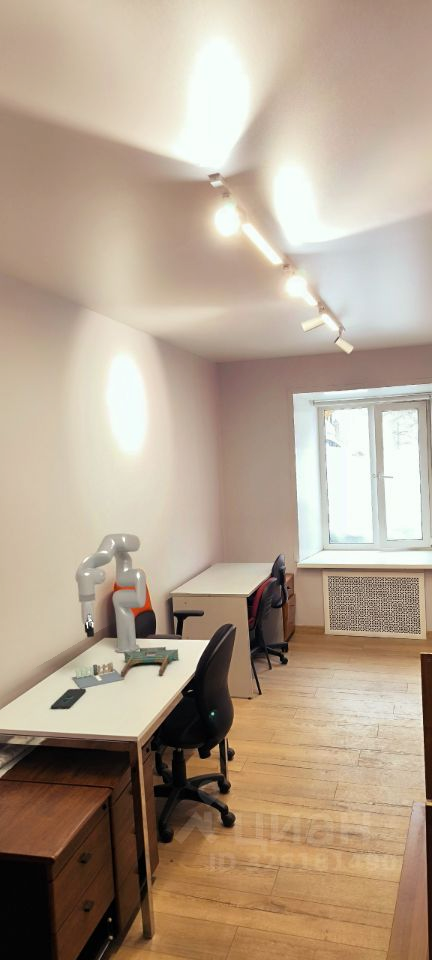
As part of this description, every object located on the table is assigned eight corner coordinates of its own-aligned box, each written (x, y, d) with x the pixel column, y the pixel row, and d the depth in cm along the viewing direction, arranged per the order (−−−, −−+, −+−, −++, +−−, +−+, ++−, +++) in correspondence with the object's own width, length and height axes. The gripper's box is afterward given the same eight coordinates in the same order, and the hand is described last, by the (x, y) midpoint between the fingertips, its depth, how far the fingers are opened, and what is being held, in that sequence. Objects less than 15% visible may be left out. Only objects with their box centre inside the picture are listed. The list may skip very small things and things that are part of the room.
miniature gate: (111, 668, 286) (127, 646, 316) (113, 680, 286) (128, 657, 316) (170, 666, 283) (180, 644, 313) (171, 678, 284) (181, 655, 314)
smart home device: (49, 706, 253) (68, 688, 273) (50, 710, 253) (68, 692, 273) (69, 705, 252) (86, 688, 272) (69, 710, 252) (86, 692, 272)
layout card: (72, 678, 291) (72, 677, 291) (114, 669, 299) (114, 668, 299) (80, 688, 275) (80, 687, 275) (124, 679, 283) (124, 678, 283)
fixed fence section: (94, 675, 290) (93, 666, 290) (93, 674, 292) (92, 665, 292) (113, 671, 294) (113, 662, 294) (112, 670, 295) (112, 661, 295)
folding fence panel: (92, 674, 291) (92, 666, 291) (93, 675, 290) (92, 667, 290) (76, 677, 288) (75, 669, 288) (76, 678, 287) (76, 670, 287)
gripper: (77, 595, 300) (79, 631, 300) (80, 602, 284) (83, 639, 284) (93, 594, 302) (95, 629, 302) (97, 599, 286) (99, 637, 286)
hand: (89, 634), depth 293 cm, fingers open, 9 cm apart
